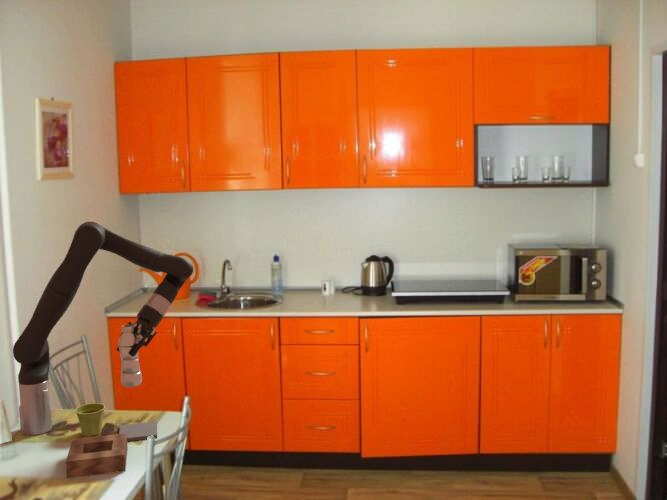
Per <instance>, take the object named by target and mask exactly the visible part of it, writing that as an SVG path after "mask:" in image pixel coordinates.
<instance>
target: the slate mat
mask: <svg viewBox="0 0 667 500" xmlns="http://www.w3.org/2000/svg"><path fill="white" fill-rule="evenodd" d="M118 431H119V432H118V434H125V433H127V442H130V441H137V440H138V441H141V440H148V439H147V437H148V436H151V435H153V436H154V437H155V438H154V439H156V438H158V421H157V420H156V421H155V420H154V421H146V422H145V421H144V422H137V423H136V422H134V423H128V424H120V425H119V430H118Z"/></svg>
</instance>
